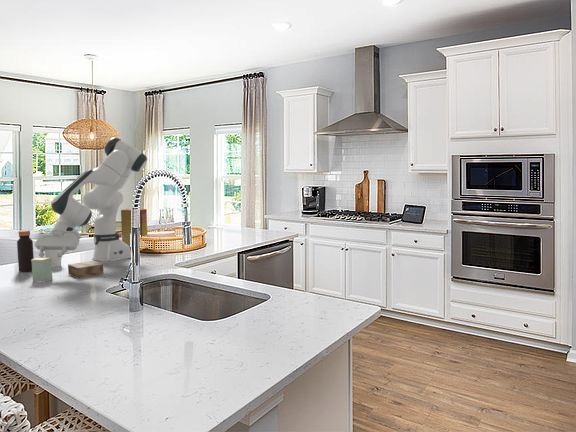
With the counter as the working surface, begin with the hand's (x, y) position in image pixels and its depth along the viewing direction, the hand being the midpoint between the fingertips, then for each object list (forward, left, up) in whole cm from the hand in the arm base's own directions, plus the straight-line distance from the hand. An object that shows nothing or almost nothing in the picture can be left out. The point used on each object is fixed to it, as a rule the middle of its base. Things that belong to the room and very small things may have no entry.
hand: (49, 256), depth 218 cm
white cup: (-8, -27, -10) cm, 30 cm away
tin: (+4, +2, -10) cm, 11 cm away
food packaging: (-61, -50, -10) cm, 79 cm away
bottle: (+5, -25, -10) cm, 27 cm away
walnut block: (-15, +2, -10) cm, 18 cm away
